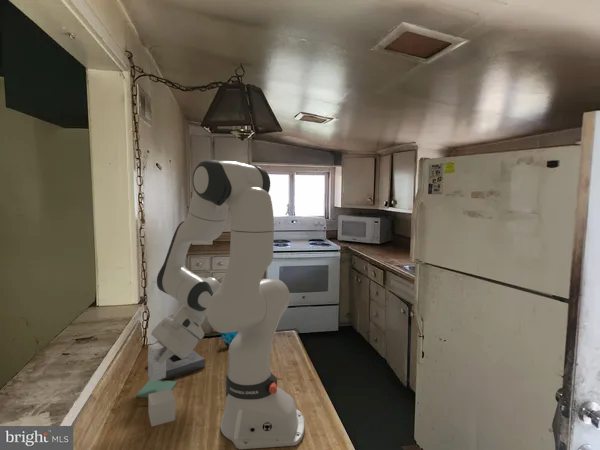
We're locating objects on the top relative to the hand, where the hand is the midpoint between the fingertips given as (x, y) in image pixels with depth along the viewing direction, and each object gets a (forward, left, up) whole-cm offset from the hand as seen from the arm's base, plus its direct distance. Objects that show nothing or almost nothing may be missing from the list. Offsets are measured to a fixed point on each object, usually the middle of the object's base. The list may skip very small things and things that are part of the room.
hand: (155, 359), depth 110 cm
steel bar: (0, 0, -6) cm, 6 cm away
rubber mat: (-1, 0, -10) cm, 10 cm away
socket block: (-1, -16, -10) cm, 19 cm away
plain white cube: (-8, +13, -10) cm, 18 cm away
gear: (-16, -37, -10) cm, 42 cm away
